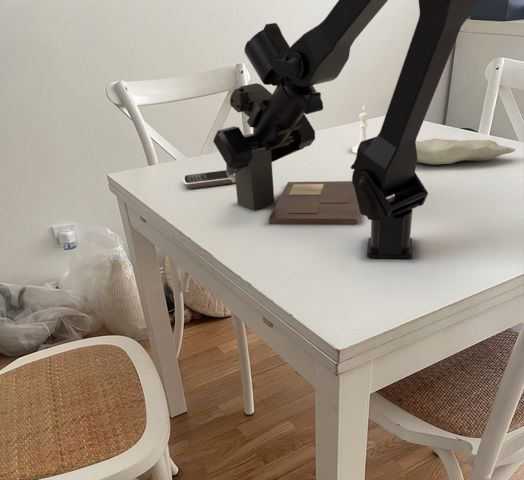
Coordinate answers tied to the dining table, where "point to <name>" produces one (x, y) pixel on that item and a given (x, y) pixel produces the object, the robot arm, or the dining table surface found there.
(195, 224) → the dining table surface
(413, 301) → the dining table surface
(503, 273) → the dining table surface
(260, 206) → the dark grey rectangular block
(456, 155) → the stone tool replica
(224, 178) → the cell phone
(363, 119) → the chess piece
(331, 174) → the dining table surface
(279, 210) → the game board
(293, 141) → the robot arm
